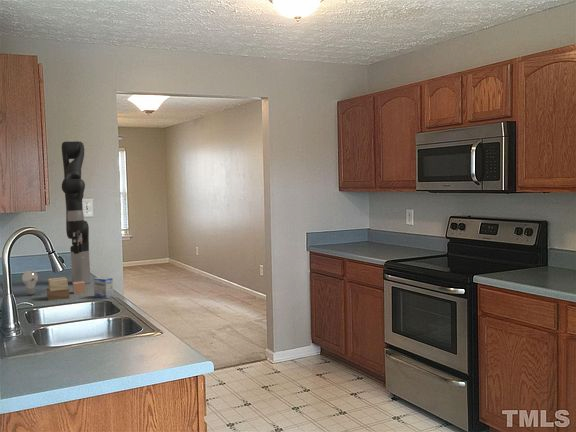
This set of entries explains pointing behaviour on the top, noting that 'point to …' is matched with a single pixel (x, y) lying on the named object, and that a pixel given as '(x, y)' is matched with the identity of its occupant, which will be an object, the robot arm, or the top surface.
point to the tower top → (58, 284)
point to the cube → (78, 287)
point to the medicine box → (103, 287)
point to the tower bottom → (57, 294)
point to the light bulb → (30, 281)
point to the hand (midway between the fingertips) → (78, 253)
